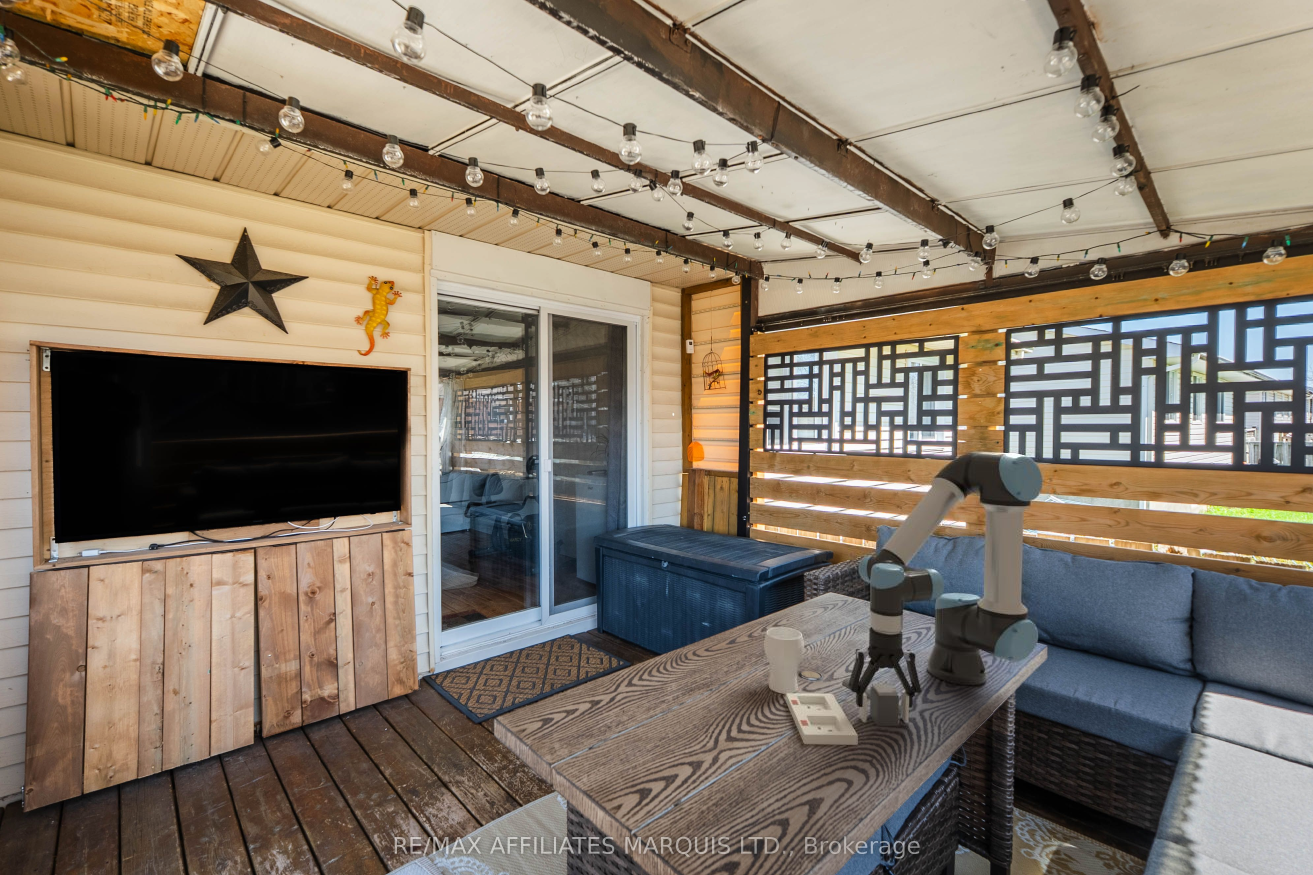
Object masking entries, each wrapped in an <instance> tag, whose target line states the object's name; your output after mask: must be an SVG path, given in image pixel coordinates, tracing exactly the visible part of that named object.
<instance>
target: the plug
mask: <svg viewBox="0 0 1313 875" xmlns="http://www.w3.org/2000/svg"><path fill="white" fill-rule="evenodd" d="M871 685H872V686H870V688H869V689H870V700H869V716H870V717H871V719H872V720H873V722H874V723H875V725H876V726H877V727H899V715H898V712H899V705H900V701H899V700H900V699H899V698H900V696H899V695H898V691H897V690H895V688H894V687H893V686H892V684H890V683H889V684H888V683H887V684H886V683H885V684H884V683H883V684H881V683H874V684H871Z"/></svg>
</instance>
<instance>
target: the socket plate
mask: <svg viewBox="0 0 1313 875" xmlns="http://www.w3.org/2000/svg"><path fill="white" fill-rule="evenodd" d="M785 703H786V704H787V705H786V706H787V707H788V710H789V713H790V714H791V716H792V719H793V721H794V723H795V726H796V728H797V731H798V732H799V736H800V738H801V739H802V742H803V744H804V745H841V746H842V745H845V746H846V745H848V746H850V745H851V746H858V745H859V744H858V743H859V742H858V741H859V738H858V736H859V735H858V733H857V732H856V730H855V729H854V727H853V725H852V723H851V722H850V720H849V719H848V717H847V715H846V714H845V712H844V710H843V709H842V707H841V706H840V704H839V702H838V700H837V699H836V698H835V696H834V694H833V693H814V692H813V693H810V692H809V693H806V692H805V693H803V692H802V693H798V692H794V693H786V694H785Z"/></svg>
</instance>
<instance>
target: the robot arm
mask: <svg viewBox="0 0 1313 875" xmlns="http://www.w3.org/2000/svg"><path fill="white" fill-rule="evenodd" d="M930 484H931V487H930V488H929V489H928V491H927V492H926V493H925V494H924V496H923V497H922V498H921V500H920V501H918V503H917V504H916V506H915V507H914V508H913V509H912V510H911V512H910V513H909V514H908V516H906V518H905V519H904V520H903V521H902V523H901V524H899V527H898V528H897V529H896V530H895V532H894V533H892V535H891V537H890V538H889V539H888V540H887V542H886V543H885V544H884V545H883V546H882V548H881V549H880V550H879V551H878V553H877V554H876V555H872V554H868V555H866V556H863V557H862V558H861V560H860V561H859V564H858V573H859V574H858V575H859V576H860V578H861V579H862V580H863V581H865V582H867V583H869V589H870V590H869V594H870V595H869V626H870V627H869V630H868V631H869V632H868V634H869V635H868V636H869V637H868V644H869V645H868V647H867V649H865V650H864V649H863V650H861V649H859V648H857V649H855V660H854V664H853V667H852V672H851V675H850V677H849V679H850V681H849V684H848V686H849V688H850V689H849V688H848V689H849V690H850V691H851V692H852V693H855V703H856V706H857V707H858V708H859V714H858V715H859V716H858V718H860V720H861V721H862V722H863V723H867V708H868V707H867V703H868V702H867V701H868V698H867V695H866V694H865V693H864V692H865V690H866V689H867V688H868V686H869V685H870V684H871V682H872V680H873V678H874V676H875V675H876V673H877V672H879V669H885V668H887V669H894V671H895V673H896V676H897V677H898V680H899V682H900V684H901V685H902V687H903V689H904V690H903V691H901V692H900V693H901V696H900V698H901V699H900V700H901V702H900V705H901V715H900V718H901V719H902V720H903V722H904V723H905V724H909V721H910V720H909V718H910V716H909V715H910V714H909V713H910V710H909V709H913V706H914V705H913V703H914V701H913V700H914V698H915V696H916V694H920V693H922V688H921V685H920V680H919V676H918V671H917V668H916V654H915V652H914V651H912V650H910V649H907V650H904V649H903V630H904V628H903V627H904V604H909V603H910V604H911V603H917V602H928V601H931V600H936V601H935V607H934V645H933V647H932V649H931V652H930V655H929V658H928V659H927V671H928V672H929V674H930V675H932V676H933V677H935V678H937V679H939V680H942V681H944V682H947V683H951V684H955V685H960V686H979V685H982V684H984V683H986V681H987V669H986V667H985V663H984V660H983V656H982V654H981V651H982V652H985V653H988V654H990V655H992V656H994V657H996V658H998V659H1001V660H1005V661H1007V662H1010V663H1011V662H1012V663H1018V662H1022V661H1025V660H1026V659H1027V658H1028V657H1029V656H1031V654H1032V653H1033V652H1034V650H1035V649H1036V646H1037V644H1038V640H1039V630H1038V627H1037V625H1036V624H1035V623H1034V622H1033V621H1031V620H1030V619H1028V616H1029V615H1028V614H1029V610H1028V608H1027V607H1026V606H1025V605H1024V604H1023V603H1022V587H1023V584H1022V580H1023V579H1022V578H1023V577H1022V576H1023V540H1024V539H1023V538H1024V513H1025V511H1026V510H1028V509H1029V508H1030V507H1031V502H1032V501H1034V500H1036V499H1037V497H1038V496H1039V495H1040V492H1041V491H1042V488H1043V475H1042V472H1041V469H1040V467H1039V465H1038V464H1037V463H1036V462H1035V460H1033V458H1031V457H1029V456H1027V455H1024V454H1023V455H1022V454H1017V453H1013V452H1012V453H1009V452H1008V453H1006V452H1005V453H1004V452H988V451H987V452H985V451H971V452H966V453H964V454H961V455H959V456H958V457H956V458H954V459H953V460H951V461H950V462H949V463H948V464H946V465H945V466H943V468H941V469H940V470H939V472H938V473H936V475H935V476H934V477H933V479H931V482H930ZM973 494H978V495H979V504H980V505H981V506H982V507H983V508H984V509H985V529H984V530H985V533H984V573H983V574H984V577H983V582H984V583H983V597H982V598H981V597H980V596H979V595H976V594H972V593H962V592H960V593H959V592H951V593H949V592H947V593H944V592H945V582H944V578H943V576H942V574H940V572H938V571H937V570H936V569H934V568H933V569H932V568H926V567H925V568H921V569H920V568H919V569H918V568H914V567H912V566H908V565H909V563H910V562H911V561H912V559H913V558H914V557H915V555H917V553H918V552H919V551H920V549H921V548H922V547H923V546H924V544H925V543H926V541H928V540H929V538H930V536H932V535H933V533H934V532H935V531H936V529H937V528H938V527H939V525H940V524H941V523H942V522H943V521H944V519H945V518H946V517H947V515H948V514H949V513H950V512H951V510H953V508H954V507H955V505H956V504H960V503H962V502H964V500H965V499H966V498H967V497H968V496H970V495H973ZM867 657H869V658H870V660H869V661H868V664H867V667H866V669H865V670H864V672H863V669H864V664H865V661H866V660H867ZM902 658H904V660H905V662H906V667H907V671H908V675H909V679H910V683H911V685H910V683H909V681H908V679H907V677H906V675H905V673H904V672H903V668H902V666H901V665H900V661H901V660H902ZM862 672H863V674H862Z"/></svg>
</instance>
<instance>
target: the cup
mask: <svg viewBox="0 0 1313 875" xmlns="http://www.w3.org/2000/svg"><path fill="white" fill-rule="evenodd" d="M804 641H805V640H804V638H803V634H802V632H800V630H797V629H795V628H791V627H784V626H778V627H771V628H768V629H767V630H766V632H765V636H764V641H763V649H764V653H765V656H766V659H767V662H768V664H769V667H770V676H769V682H768V687H769V689H770V690H771V691H774V692H776V693H779V694H784V695H786V693H797V691H798V689H799V687H798V678H797V672H798V667H799V665H800V663H801V661H802V659H803V656H804V651H805V642H804Z"/></svg>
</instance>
